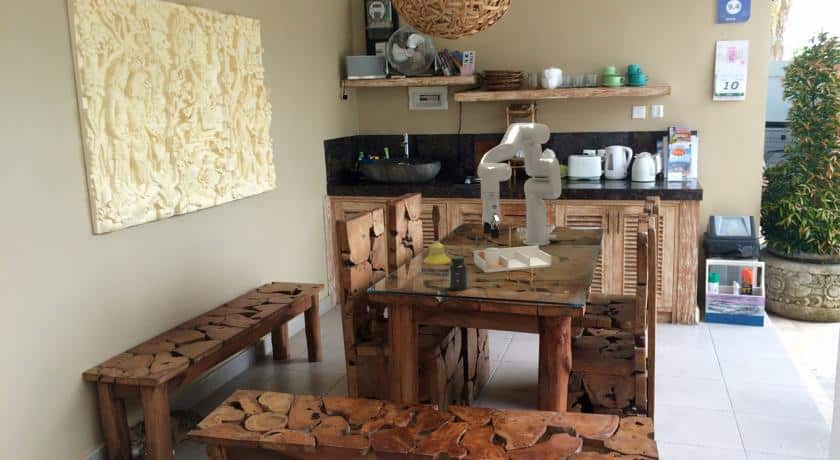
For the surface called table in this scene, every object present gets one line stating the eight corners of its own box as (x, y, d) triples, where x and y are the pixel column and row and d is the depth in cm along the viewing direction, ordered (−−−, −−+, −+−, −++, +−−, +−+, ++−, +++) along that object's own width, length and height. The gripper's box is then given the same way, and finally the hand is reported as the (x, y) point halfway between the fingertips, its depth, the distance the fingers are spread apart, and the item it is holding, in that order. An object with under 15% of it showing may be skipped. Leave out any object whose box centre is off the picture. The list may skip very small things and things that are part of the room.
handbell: (430, 265, 308) (428, 208, 303) (418, 260, 319) (416, 204, 314) (456, 262, 313) (454, 205, 308) (443, 256, 324) (441, 202, 319)
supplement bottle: (447, 290, 269) (446, 259, 267) (452, 285, 275) (452, 255, 273) (464, 291, 266) (463, 260, 264) (469, 286, 273) (469, 256, 270)
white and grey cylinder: (482, 266, 298) (481, 250, 297) (486, 262, 304) (486, 246, 303) (498, 267, 295) (497, 250, 294) (502, 263, 302) (502, 247, 300)
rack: (537, 258, 313) (537, 245, 312) (551, 266, 299) (551, 252, 298) (474, 264, 307) (473, 250, 306) (484, 272, 293) (484, 258, 292)
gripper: (505, 197, 287) (506, 239, 291) (492, 191, 304) (493, 231, 307) (488, 199, 286) (489, 241, 289) (475, 193, 302) (476, 232, 306)
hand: (491, 235), depth 298 cm, fingers open, 9 cm apart
